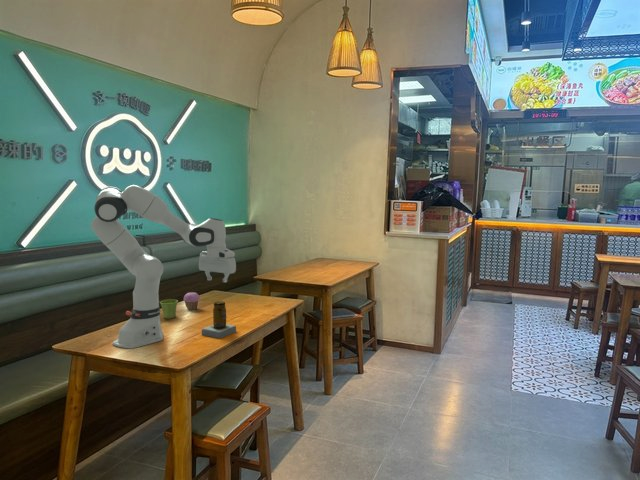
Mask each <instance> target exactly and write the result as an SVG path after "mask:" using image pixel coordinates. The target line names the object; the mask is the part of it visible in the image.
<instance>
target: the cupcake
mask: <svg viewBox="0 0 640 480" xmlns="http://www.w3.org/2000/svg"><path fill="white" fill-rule="evenodd" d="M200 297H201V296H200V295H199V294H198V292H187V293H186V294H185V295H184V296H183V302H184V303H185V307H186V309H187V310H190V311H193V310H197V309H198V306H199V301H200V299H201V298H200Z"/></svg>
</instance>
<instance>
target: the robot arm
mask: <svg viewBox="0 0 640 480" xmlns="http://www.w3.org/2000/svg"><path fill="white" fill-rule="evenodd" d="M128 211H131V212H134V213H136V214H137V215H139V216H140V217H142V218H144V219H146V220H148V221H149V222H153V223H156V224H161V225H164V226H165V227H167V228H169V229H170V230H172V231H173V232H175V233H176V234H178V235H179V236H180V238H181V240H182V241H183V242H184V243H185V244H187V245H189V246H193V247H197V248H200V247H205V246H206V251H204V250H203V251H201V252H200V254H199V259H198V269H199V271H204V273H205V276H206V278H207V279H206V280H207V281H212V280H213V279H212V278H213V276H211V273H221V274H223V275H224V277H223V278H222V283H227V282H228V278H229V276H230V274H231V275H232V274H235V273H236V271H237V263H236V258H235V256H236V253H235V252H234V251H233V250H230V249H229V248H227V244H226V238H227V234H226V233H227V230H226V224H225V222H224V220H222V219H219V218H213V217H208V218H207V220H204V221H203V222H201V223H200V224H199V223H198V224H195V223H188V222H186V221H184V220H183V219H182V218H180V217H178V216H176V215H175V214H174V213H172V211H170V209H169V206H168V204H167V202H165V201H164V200H163V199H162V198H161V197H159V196H157V195H156V194H154V193H153V192H151V191H149V190H148V189H146V188H143V187H141V186H139V185H135V184H132V185H129V186H127V187H126V188H125V189H124V190H123V191H122V190H121V189H120V188H118V187H115V186H106V187H104V188H103V189H101V190H100V191H99V193H98V195H97V196H96V199H95V204H94V213H95V217H93V219H92V221H91V223H90V228H91V230H92V232H93V233H94V234H95V236H96V237H97V238H98V239H99V240H100V242H101V243H102V244H103V245H104V246H105V247H107V248H108V250H109V251H111V253H112V254H113V255H115V257H116V258H117V260H119V262H121V263H122V265H123V266H124V267H125V268H126V269H127V271H128V272H129V273H130V274H132V275H133V276H135V284H134V289H133V291H132V303H133V305H132V306H133V307H132V310H131V311H129V310H126V312H125V315H126V316H129V317H130V318H129V319H128V320H126V322H125V324H123V326H121V328H119V330H118V333H117V335H118V336H117V338H116V339H114V340H113V341H112V345H113V346H115V347H118V348H122V349H124V348H125V349H136V348H139V347H142V346H146V345H150V344H154V343H157V342H161V341H163V340H164V332H163V328H162V323H161V319H160V315H161V305H160V300H159V299H160V298H159V297H160V296H159V289H160V283H161V282H160V281H161V278H162V277H161V276H162V275H163V273H164V265H163V263H162V262H161V260H160V259H159V258H157V256H153V255H150V254H148V252H146V251H145V250H144V249H143V247H142V246H141V245H140V244H139V242H138V240H137V239H136V238H135V237H134V235H132V234H131V232H130V231H129V230H128V229H127V228H126V227H125V226H124V225H123V224H122V223H121V222H120V220H119V219H120V218H121V217H122V216H124V215H125V214H127V212H128Z"/></svg>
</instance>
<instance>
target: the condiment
mask: <svg viewBox="0 0 640 480" xmlns="http://www.w3.org/2000/svg"><path fill="white" fill-rule="evenodd" d="M212 310H213V311H212V316H213V322H212V323H213V324H212V325H214V326H211V325H209V326H210V327H212V328H214V329H217V330H222V329H227V328H232V327H230V326H227V325H226V324H227V308H226V302H225V301H222V300H220V301H214V303H213V309H212Z"/></svg>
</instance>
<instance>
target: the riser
mask: <svg viewBox="0 0 640 480" xmlns="http://www.w3.org/2000/svg"><path fill="white" fill-rule="evenodd" d="M226 325H227V326H230V327H232V328H227V329H222V330H217V329H214V328H212V327H210V326H214V325H213V324H211V325H209V326H206V327H204V328H202V329H201V336H205V337H212V338H214V339H221V338H223V337H227V336H229V335H231V334H234V333H236V332H237V326H236V325H233V324H229V323H226Z"/></svg>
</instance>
